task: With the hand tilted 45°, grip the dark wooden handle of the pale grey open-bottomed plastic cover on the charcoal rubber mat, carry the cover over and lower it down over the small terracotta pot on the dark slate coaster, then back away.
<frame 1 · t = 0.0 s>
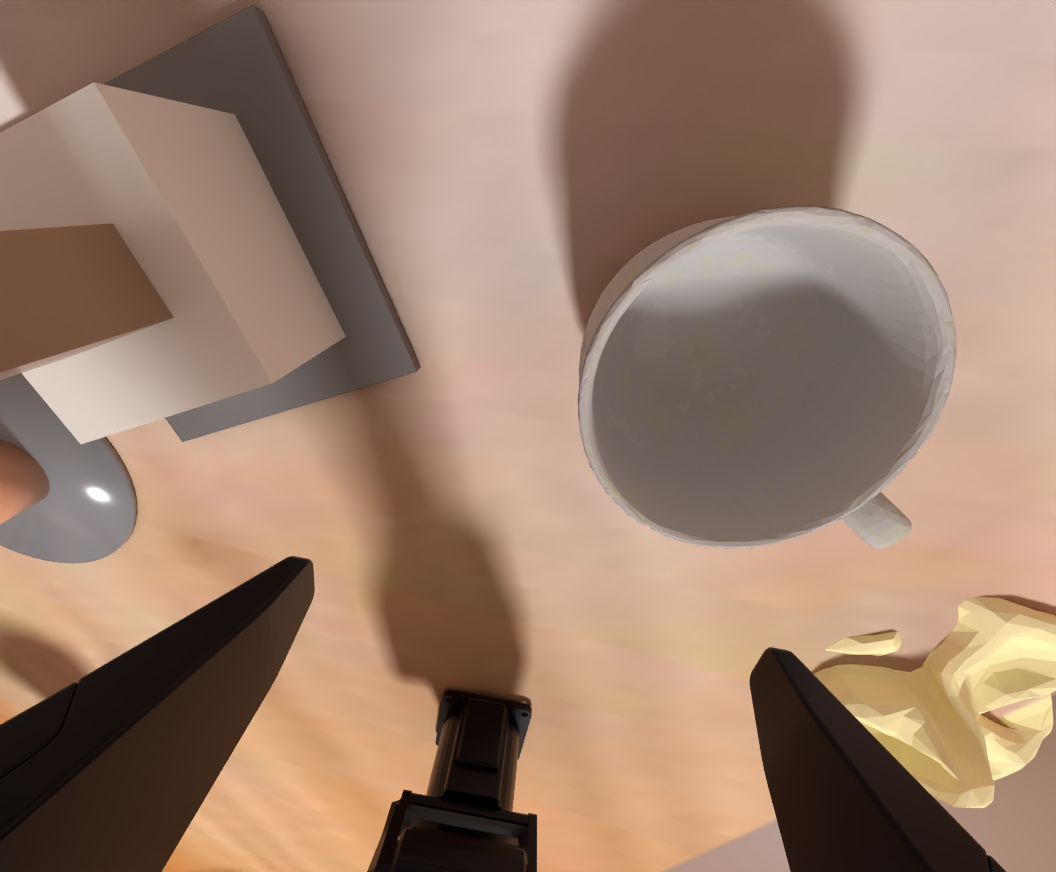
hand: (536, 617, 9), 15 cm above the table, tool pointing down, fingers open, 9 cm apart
cover: (210, 269, 21), point 1 cm above the table, touching mat
teacup: (715, 362, 22), on the table
cloth: (884, 694, 32), on the table
mat: (219, 267, 21), on the table
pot: (17, 467, 28), on the table
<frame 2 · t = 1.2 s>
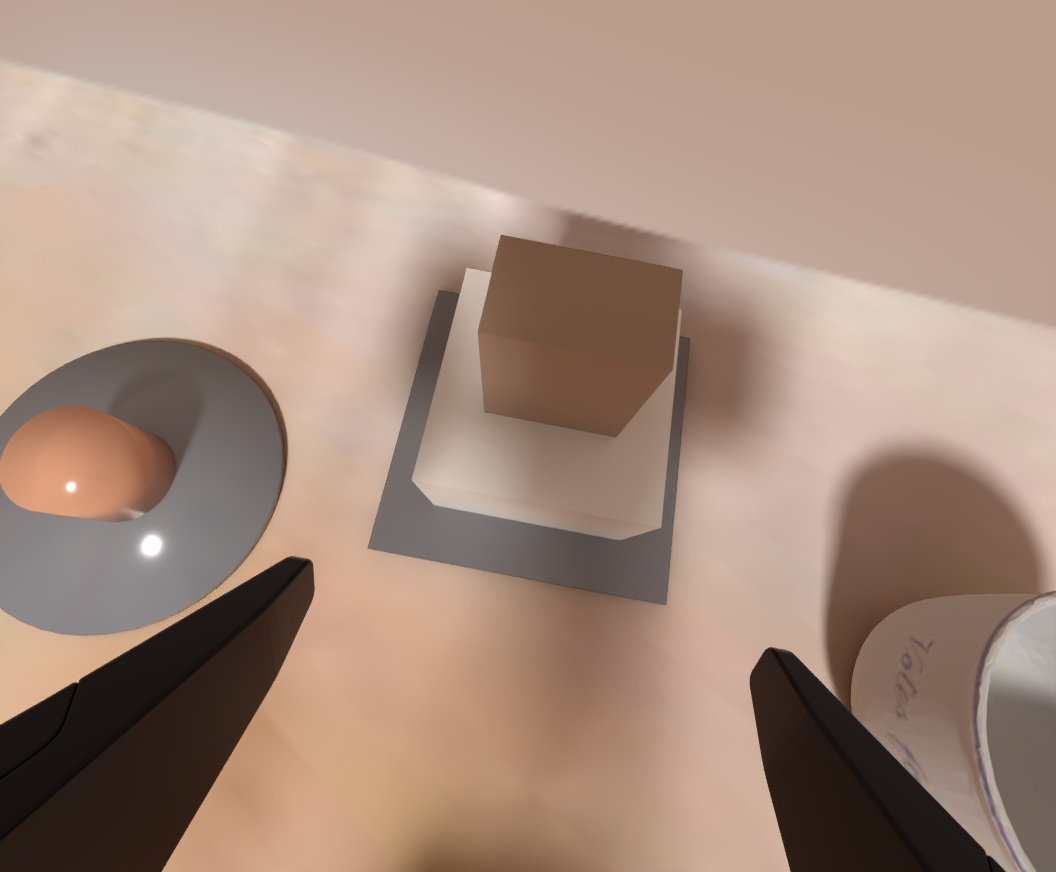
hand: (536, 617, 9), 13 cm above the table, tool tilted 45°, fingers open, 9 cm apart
cover: (542, 434, 24), point 1 cm above the table, touching mat
teacup: (938, 745, 21), on the table
mat: (541, 437, 24), on the table
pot: (132, 476, 23), on the table
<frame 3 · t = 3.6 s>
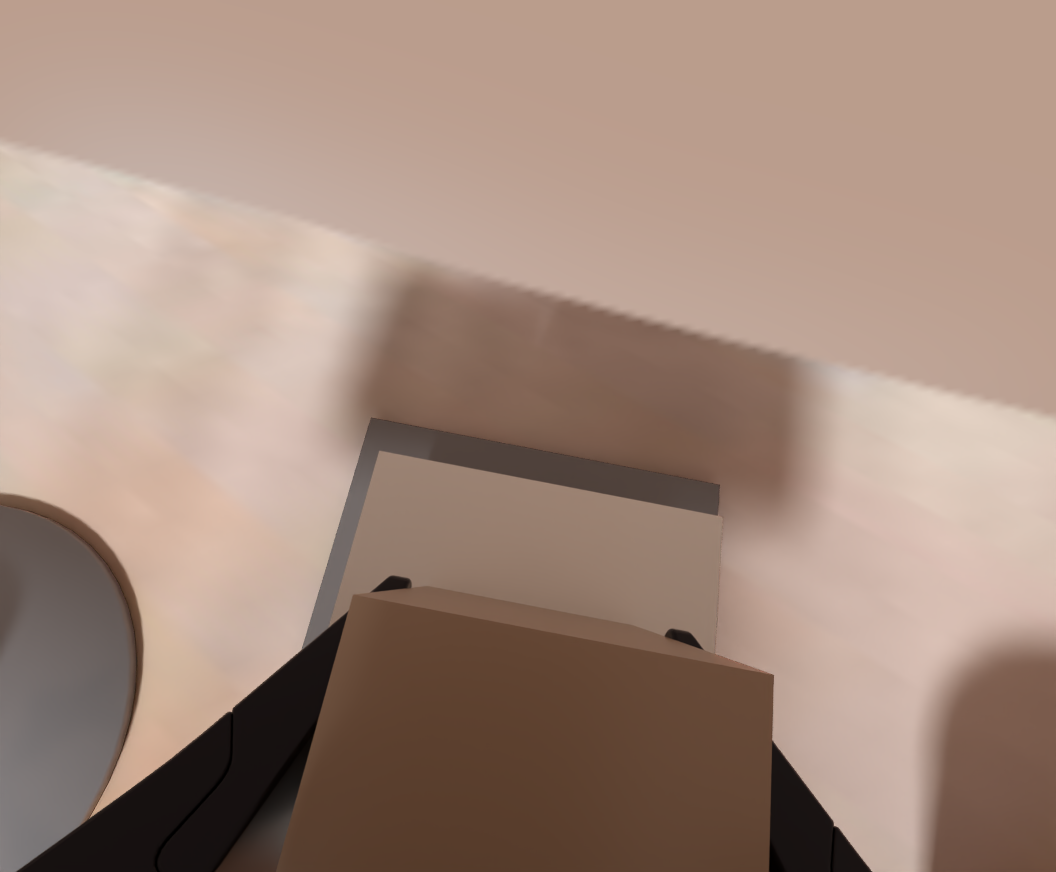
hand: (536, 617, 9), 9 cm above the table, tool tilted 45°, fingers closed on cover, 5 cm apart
cover: (511, 640, 17), point 1 cm above the table, touching gripper, mat
mat: (511, 638, 17), on the table
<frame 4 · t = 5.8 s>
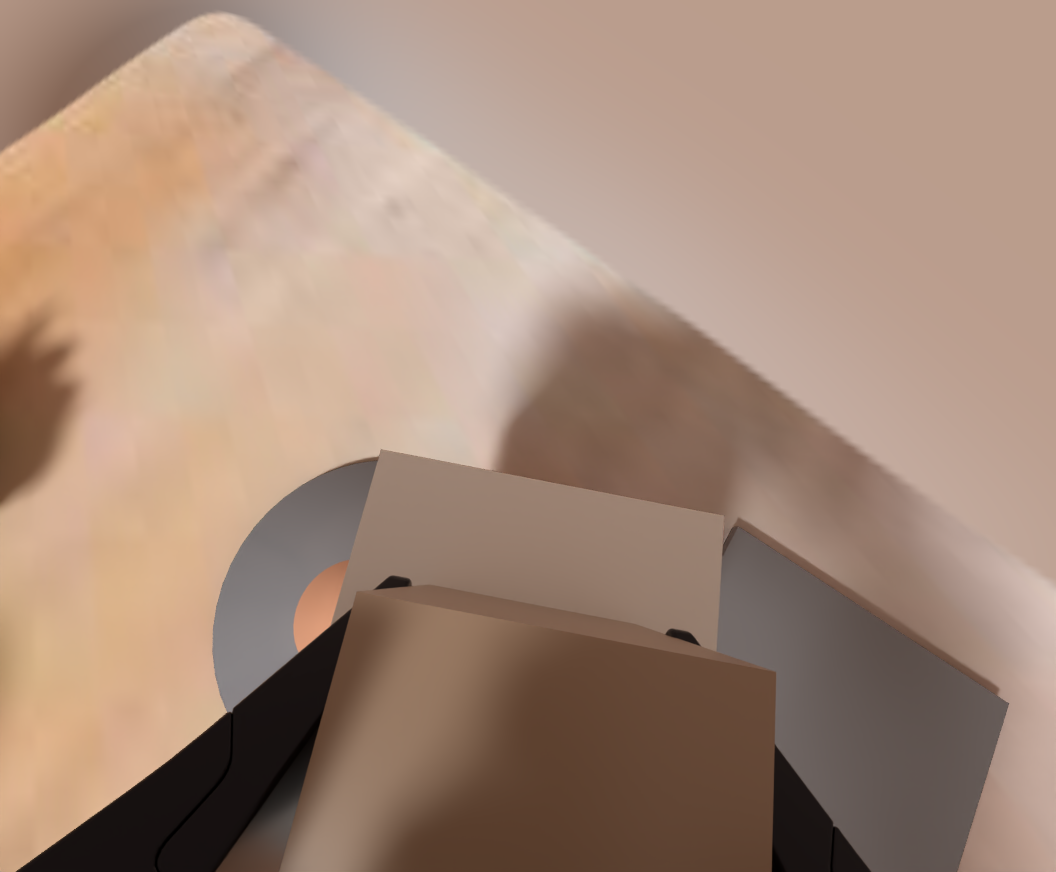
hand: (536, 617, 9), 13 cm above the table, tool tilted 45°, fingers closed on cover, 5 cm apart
cover: (513, 639, 17), point 5 cm above the table, touching gripper
mat: (800, 750, 21), on the table
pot: (379, 611, 22), on the table
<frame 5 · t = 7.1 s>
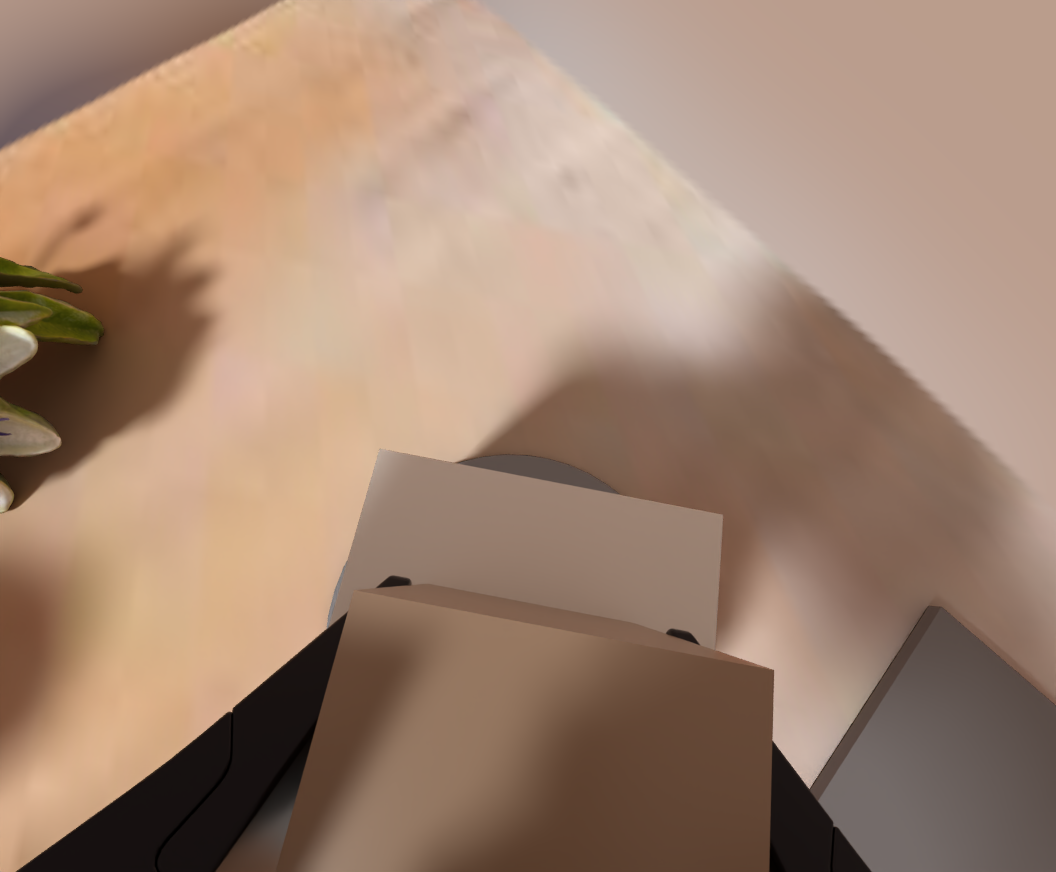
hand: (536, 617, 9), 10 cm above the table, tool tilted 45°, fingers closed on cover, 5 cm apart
cover: (512, 639, 17), point 2 cm above the table, touching gripper
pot: (511, 629, 19), on the table
when the fingers open (9 cm above the table, at t = 8.1 s): cover stays where it is, resting on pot.
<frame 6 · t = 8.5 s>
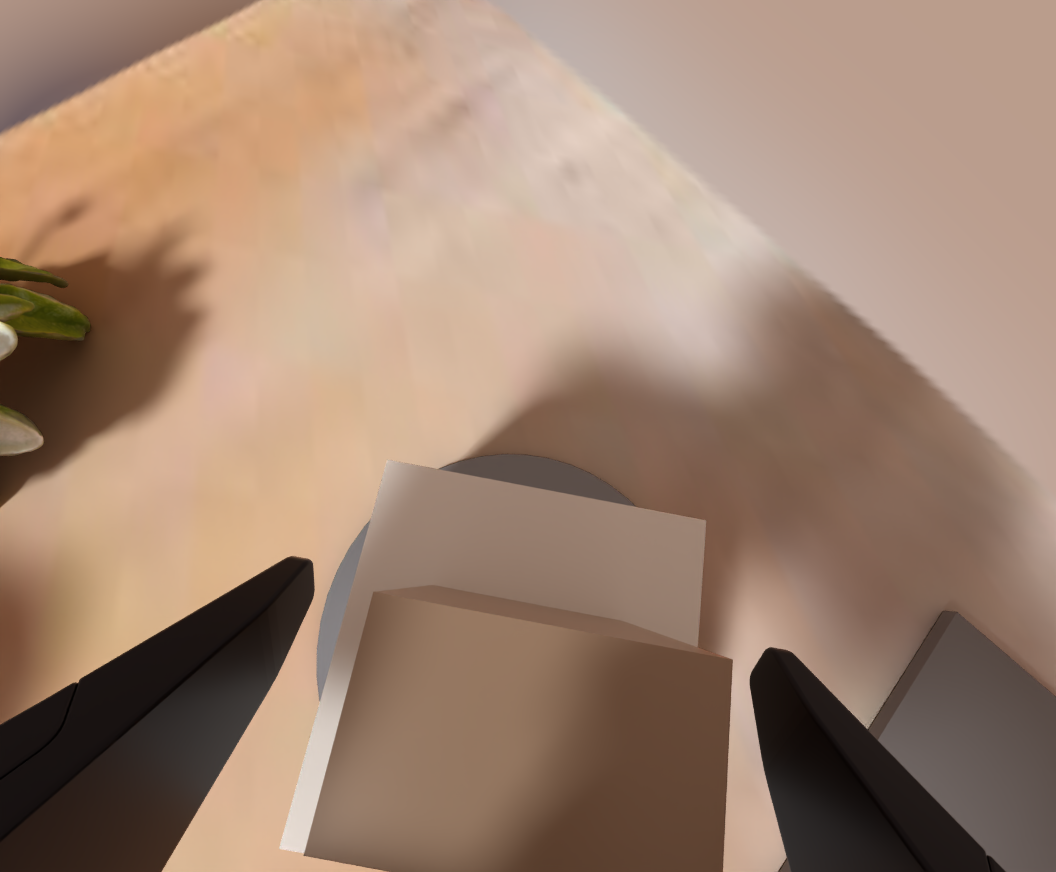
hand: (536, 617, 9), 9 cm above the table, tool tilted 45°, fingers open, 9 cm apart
cover: (511, 636, 17), resting on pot
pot: (510, 635, 18), on the table
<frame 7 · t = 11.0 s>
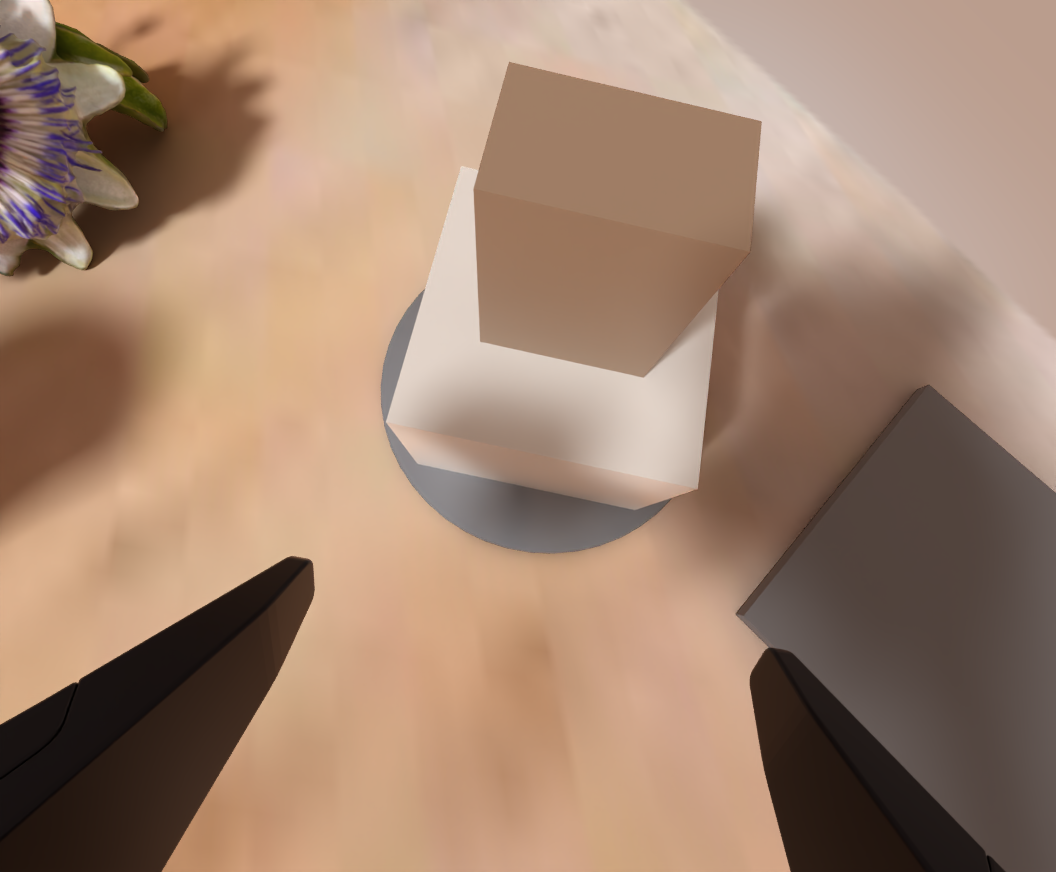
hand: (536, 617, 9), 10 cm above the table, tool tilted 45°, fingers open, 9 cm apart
cover: (547, 385, 20), resting on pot
mat: (965, 613, 20), on the table
passion flower: (52, 192, 21), on the table
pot: (546, 388, 21), on the table
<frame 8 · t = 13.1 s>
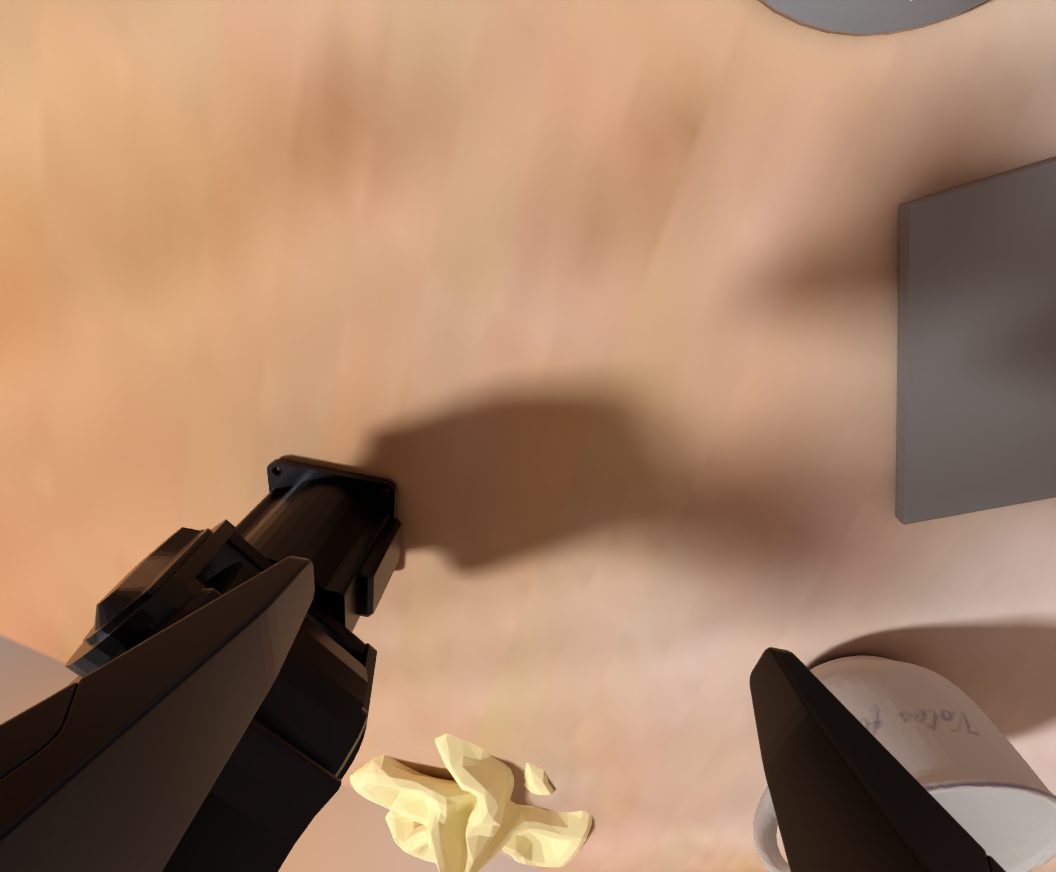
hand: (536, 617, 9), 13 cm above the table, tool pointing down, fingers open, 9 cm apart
teacup: (821, 696, 29), on the table
cloth: (470, 785, 38), on the table
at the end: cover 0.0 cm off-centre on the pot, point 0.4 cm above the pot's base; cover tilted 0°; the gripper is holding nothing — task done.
